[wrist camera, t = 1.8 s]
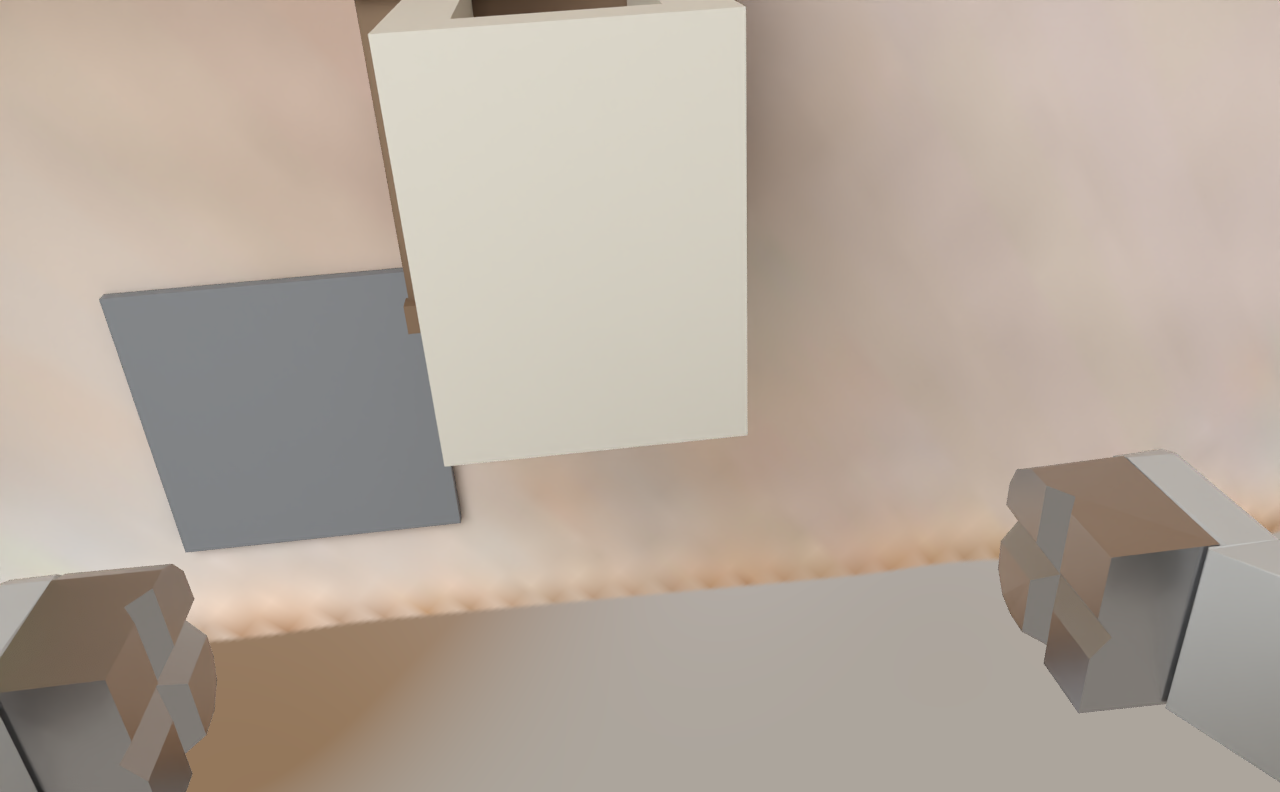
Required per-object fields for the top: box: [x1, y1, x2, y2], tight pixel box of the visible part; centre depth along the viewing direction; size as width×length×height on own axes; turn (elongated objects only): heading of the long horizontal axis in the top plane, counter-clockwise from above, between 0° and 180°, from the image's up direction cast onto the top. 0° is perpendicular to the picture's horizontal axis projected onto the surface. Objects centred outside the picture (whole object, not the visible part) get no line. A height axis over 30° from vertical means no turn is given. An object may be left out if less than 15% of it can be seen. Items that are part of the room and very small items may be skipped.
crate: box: [355, 0, 737, 334], centre depth 27 cm, size 9×9×6 cm
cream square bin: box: [368, 0, 748, 467], centre depth 21 cm, size 6×8×8 cm
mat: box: [99, 268, 461, 552], centre depth 34 cm, size 10×10×1 cm
